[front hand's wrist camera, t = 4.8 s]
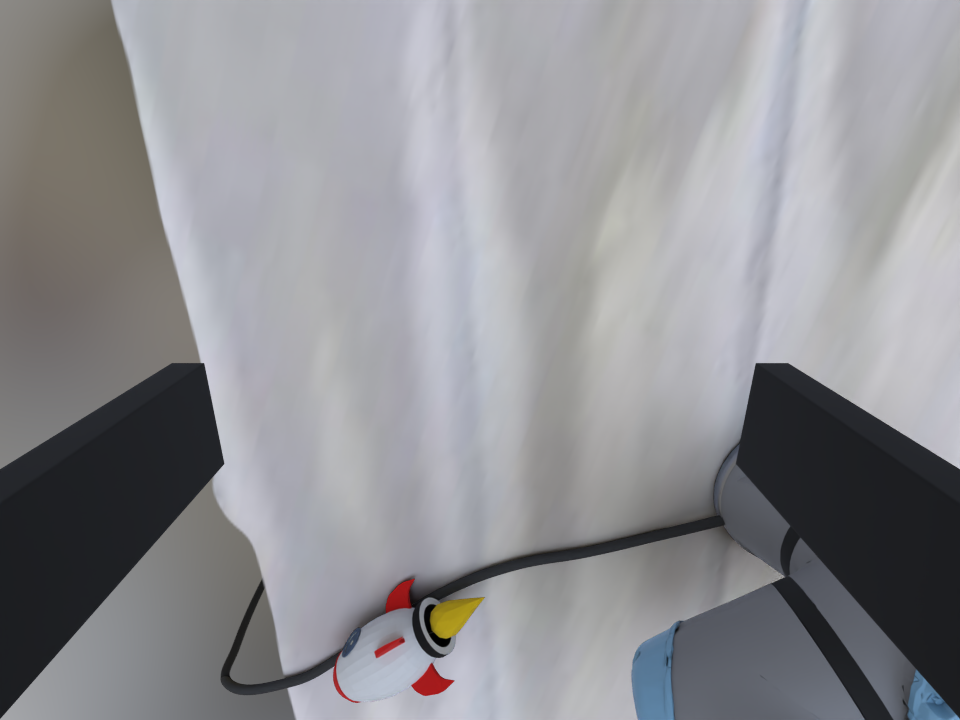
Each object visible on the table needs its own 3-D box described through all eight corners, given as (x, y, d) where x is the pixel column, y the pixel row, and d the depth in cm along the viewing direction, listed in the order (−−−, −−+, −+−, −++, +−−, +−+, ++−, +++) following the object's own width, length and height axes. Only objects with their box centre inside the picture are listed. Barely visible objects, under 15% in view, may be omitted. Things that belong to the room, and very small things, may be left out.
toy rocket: (442, 588, 45) (287, 682, 50) (506, 673, 45) (346, 758, 50) (465, 535, 54) (332, 619, 59) (519, 605, 54) (381, 683, 59)
